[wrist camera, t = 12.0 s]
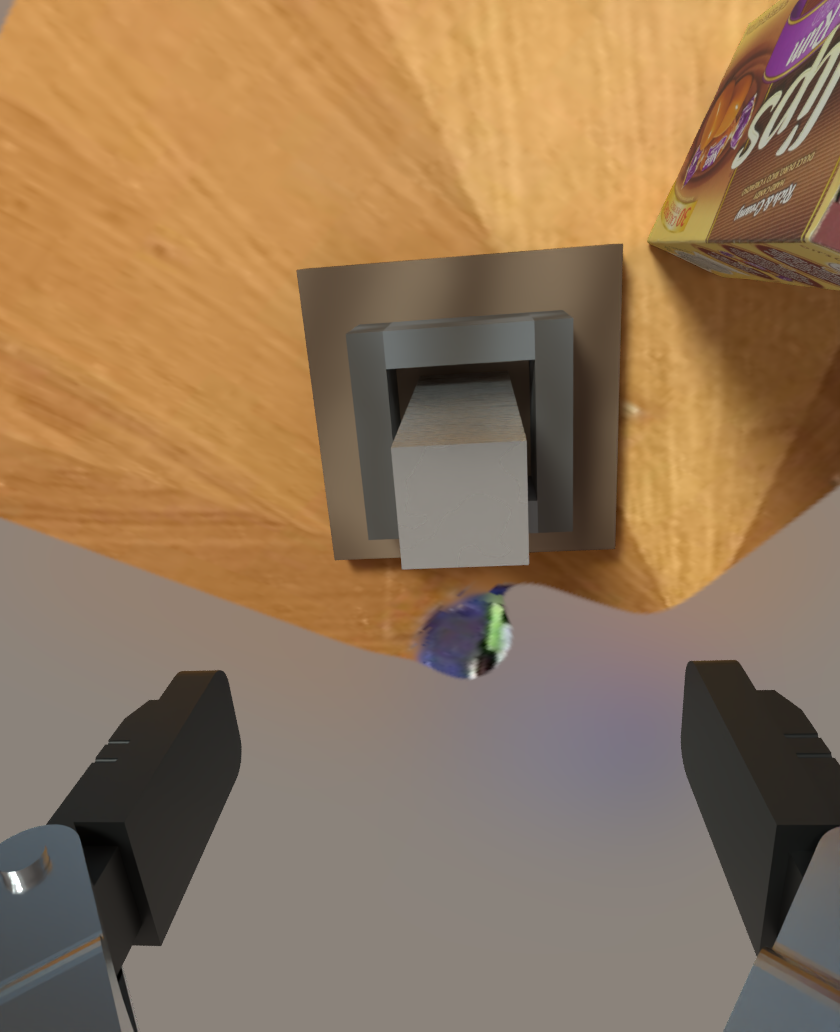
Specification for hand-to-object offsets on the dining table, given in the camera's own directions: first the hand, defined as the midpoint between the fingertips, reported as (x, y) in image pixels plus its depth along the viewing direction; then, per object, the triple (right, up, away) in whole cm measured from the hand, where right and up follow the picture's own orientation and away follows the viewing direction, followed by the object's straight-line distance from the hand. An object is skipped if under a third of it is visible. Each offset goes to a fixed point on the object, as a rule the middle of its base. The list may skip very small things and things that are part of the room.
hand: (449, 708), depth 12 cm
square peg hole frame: (+2, +9, +22) cm, 23 cm away
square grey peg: (+2, +8, +20) cm, 22 cm away
